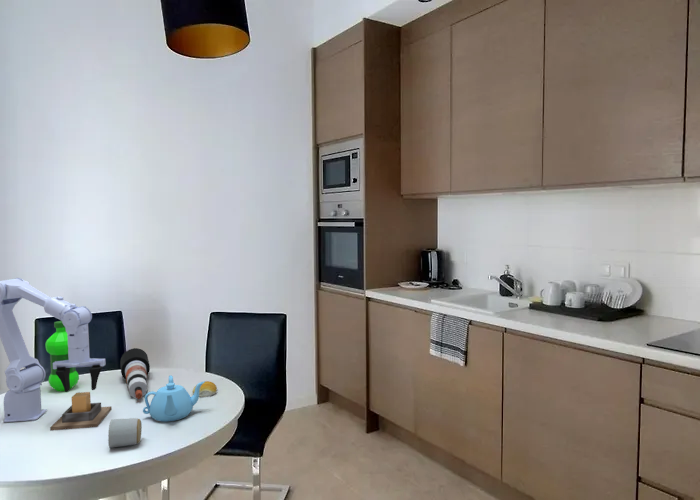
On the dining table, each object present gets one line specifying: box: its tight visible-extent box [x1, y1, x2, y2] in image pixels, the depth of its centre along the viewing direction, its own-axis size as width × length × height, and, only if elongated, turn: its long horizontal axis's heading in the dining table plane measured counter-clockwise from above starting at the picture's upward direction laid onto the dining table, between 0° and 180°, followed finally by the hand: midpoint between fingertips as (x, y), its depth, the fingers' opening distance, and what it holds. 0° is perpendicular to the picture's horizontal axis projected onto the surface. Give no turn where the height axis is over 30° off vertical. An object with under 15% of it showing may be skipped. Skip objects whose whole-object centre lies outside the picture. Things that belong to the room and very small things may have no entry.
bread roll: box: [192, 380, 218, 398], centre depth 178 cm, size 8×9×4 cm
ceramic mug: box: [107, 417, 143, 449], centre depth 139 cm, size 10×8×7 cm
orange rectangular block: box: [71, 391, 92, 413], centre depth 155 cm, size 4×4×7 cm
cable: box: [119, 347, 151, 400], centre depth 184 cm, size 10×34×10 cm, turn 23°
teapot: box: [142, 375, 205, 423], centre depth 158 cm, size 15×15×10 cm
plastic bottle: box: [45, 320, 80, 392], centre depth 184 cm, size 10×10×25 cm
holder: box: [49, 402, 112, 431], centre depth 156 cm, size 13×14×4 cm
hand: (80, 389), depth 155 cm, fingers open, 7 cm apart
